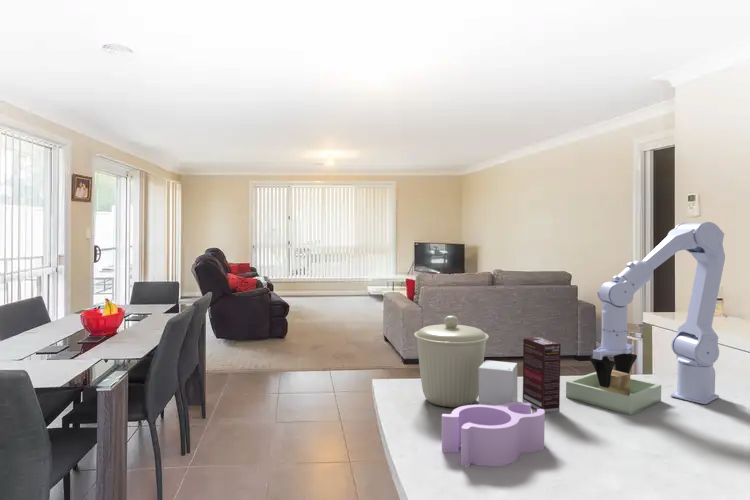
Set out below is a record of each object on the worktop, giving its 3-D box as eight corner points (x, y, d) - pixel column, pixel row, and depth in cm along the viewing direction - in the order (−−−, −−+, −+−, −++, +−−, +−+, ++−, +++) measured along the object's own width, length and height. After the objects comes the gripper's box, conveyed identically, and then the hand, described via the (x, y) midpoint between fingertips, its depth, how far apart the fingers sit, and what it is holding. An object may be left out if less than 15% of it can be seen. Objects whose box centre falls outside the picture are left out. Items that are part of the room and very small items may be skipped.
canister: (474, 419, 111) (475, 324, 111) (401, 405, 120) (401, 318, 120) (497, 396, 127) (497, 313, 127) (430, 385, 136) (431, 308, 135)
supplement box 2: (560, 411, 116) (561, 343, 116) (542, 413, 115) (543, 344, 114) (538, 399, 125) (539, 336, 124) (521, 401, 123) (522, 337, 123)
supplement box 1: (518, 418, 112) (518, 362, 111) (512, 430, 105) (513, 370, 105) (485, 413, 115) (485, 359, 114) (477, 425, 108) (477, 366, 108)
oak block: (610, 392, 128) (611, 369, 128) (629, 398, 124) (630, 374, 124) (599, 396, 126) (599, 372, 125) (618, 401, 121) (618, 377, 121)
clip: (515, 429, 106) (516, 397, 106) (559, 453, 95) (560, 416, 95) (433, 445, 98) (434, 410, 98) (471, 473, 87) (471, 434, 86)
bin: (598, 385, 136) (598, 370, 136) (661, 400, 124) (661, 384, 124) (566, 397, 127) (566, 381, 126) (630, 415, 114) (630, 397, 114)
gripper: (612, 336, 117) (611, 393, 118) (646, 329, 125) (645, 383, 126) (585, 331, 123) (584, 385, 124) (619, 325, 131) (618, 376, 132)
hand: (613, 384), depth 125 cm, fingers open, 7 cm apart
